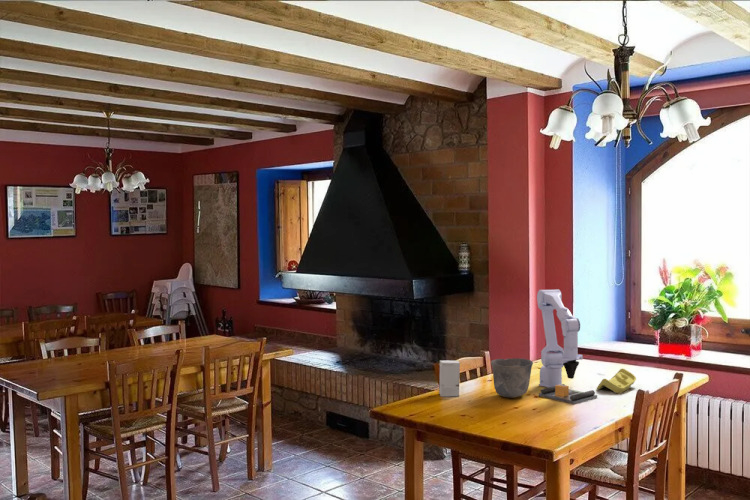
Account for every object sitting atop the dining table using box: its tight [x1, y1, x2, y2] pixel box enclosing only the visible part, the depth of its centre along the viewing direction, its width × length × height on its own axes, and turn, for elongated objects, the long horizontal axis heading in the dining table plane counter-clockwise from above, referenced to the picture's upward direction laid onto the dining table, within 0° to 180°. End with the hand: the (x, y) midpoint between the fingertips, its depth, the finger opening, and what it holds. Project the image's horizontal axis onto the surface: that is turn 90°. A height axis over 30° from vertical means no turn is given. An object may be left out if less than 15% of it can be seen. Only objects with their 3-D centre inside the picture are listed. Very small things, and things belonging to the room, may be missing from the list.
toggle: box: [555, 384, 570, 397], centre depth 293 cm, size 4×3×4 cm
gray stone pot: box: [490, 357, 534, 399], centre depth 298 cm, size 18×18×15 cm
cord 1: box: [540, 383, 565, 394], centre depth 301 cm, size 2×15×2 cm, turn 128°
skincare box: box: [438, 359, 461, 398], centre depth 301 cm, size 8×6×15 cm
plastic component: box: [596, 368, 637, 394], centre depth 311 cm, size 20×7×10 cm
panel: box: [538, 388, 598, 405], centre depth 296 cm, size 18×16×1 cm
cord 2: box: [570, 389, 596, 400], centre depth 290 cm, size 2×15×2 cm, turn 128°
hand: (570, 378), depth 297 cm, fingers closed
